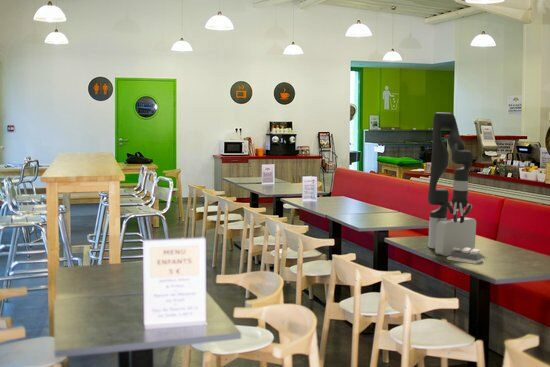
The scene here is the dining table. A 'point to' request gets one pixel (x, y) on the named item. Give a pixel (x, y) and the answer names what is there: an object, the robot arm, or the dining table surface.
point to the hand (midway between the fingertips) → (458, 222)
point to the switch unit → (465, 257)
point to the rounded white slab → (454, 235)
